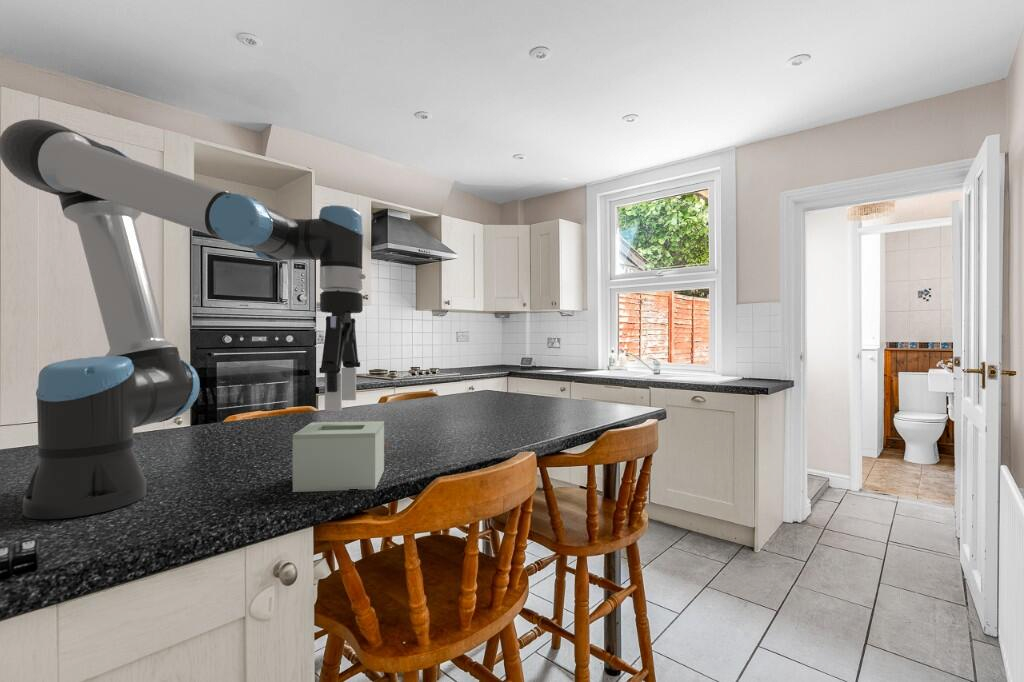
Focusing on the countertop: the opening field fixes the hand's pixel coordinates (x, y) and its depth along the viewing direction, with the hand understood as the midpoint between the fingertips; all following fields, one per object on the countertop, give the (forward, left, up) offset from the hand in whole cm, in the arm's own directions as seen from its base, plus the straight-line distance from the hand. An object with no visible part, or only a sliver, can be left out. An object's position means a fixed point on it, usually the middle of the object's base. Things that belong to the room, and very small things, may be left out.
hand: (341, 405), depth 93 cm
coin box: (0, 0, -14) cm, 14 cm away
